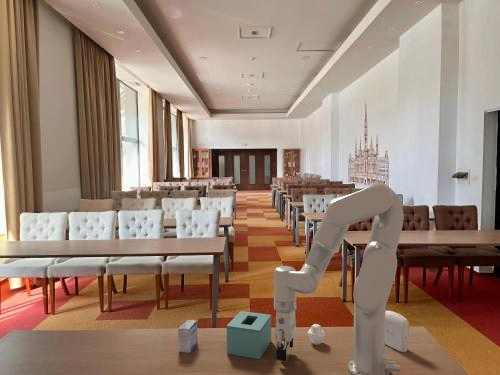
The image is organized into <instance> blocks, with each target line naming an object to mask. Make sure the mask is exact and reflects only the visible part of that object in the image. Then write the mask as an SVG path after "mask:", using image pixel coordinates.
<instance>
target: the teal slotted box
mask: <svg viewBox="0 0 500 375" xmlns="http://www.w3.org/2000/svg"><path fill="white" fill-rule="evenodd" d="M271 342H272V314H269V313H268V314H266V313H260V312H259V313H258V312H254V311H253V312H251V311H243V310H240V311H239V312H238V313H237V314H236V315H235V316H234V318H232V319H231V321H230V322H228V324H227V325H226V355H233V356H237V357H245V358H250V359H257V360H260V359H261V358H262V357H263V355H264V353H265V352H266V351H267V349H268V347H269V346H268V345H270V344H271ZM269 343H270V344H269ZM267 346H268V347H267ZM266 348H267V349H266Z"/></svg>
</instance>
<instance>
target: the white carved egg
mask: <svg viewBox="0 0 500 375" xmlns="http://www.w3.org/2000/svg"><path fill="white" fill-rule="evenodd" d="M307 335H308V338H309V340H310V342H311V344H313V345H317V346H318V345H320V344H321V343H322V342H323V340H324V338H325V335H326V332H325V331H324V329H323V328H322V326H321V325H320V324H319V323H314V324H312V325H311V327H310V329H309V330H307Z"/></svg>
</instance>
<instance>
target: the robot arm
mask: <svg viewBox="0 0 500 375" xmlns="http://www.w3.org/2000/svg"><path fill="white" fill-rule="evenodd" d="M404 216H405V214H404V208H403V205H402V202H401V200H400V198H399V196H398V195H397V193H396V192H395V191H394V190H393V189H392V188H391V187H389V185H387V184H385V183H384V182H380V181H376V182H372V183H369V184H368V185H367V186H366V187H365V188H363V189H361V190H357V191H355V192H352V193H350V194H347V195H345V196H344V195H342V196H341V195H340V196H336V197H335V198H333V199H331V201H330V202H329V203H328V205H327V206H326V211H325V212H324V215H323V217H322V219H321V221H320V223H319V226H318V227H317V229H316V232H315V234H314V236H313V238H312V244H311V248H310V250H309V252H308V255H307V256H306V258H305V261H304V263H303V265H302V267H301V268H300V270H298V271H297V270H296V268H294V267H292V266H289V265H282V266H281V265H280V266H277V267H276V268H274V271H273V310H275V311H276V313H275V314H276V315H275V340H276V353H275V354H276V358H275V359H276V361H279V362H280V361H286V349H285V348H286V341H287V342H290V348H293V347H294V336H295V334H296V331H297V327H296V323H297V322H296V320H297V319H296V310H297V294H301V295H312V294H315V292H316V291H317V290H318V288H319V286H320V283H321V281H322V278H323V277H324V274H325V272H326V270H327V268H328V266H329V264H330V261H331V259H332V258H333V256H334V255H335V254H336V253H337V252H338V250H339V248H340V247H341V244H342V242H343V240H344V238H345V236H346V234H347V232H348V230H349V228H350V226H351V225H354V224H358V223H360V222H362V221H365V220H368V219H370V218H373V217H374V220H373V223H372V226H371V231H370V234H369V238H368V241H367V244H366V247H365V249H364V252H363V255H362V257H363V258H362V262H361V266H360V270H359V273H358V276H357V277H356V278H355V281H354V284H353V295H352V296H353V350H352V352H353V358H352V359H351V360H350V361H348V364H347V369H348V371H349V372H350V373H351V374H352V375H390V371H392V372H398V373H400V372H401V365H400V364H396V361H394V360H388V359H386V358H387V356H386V354H385V351H386V346H385V345H386V344H385V313H386V311H387V310H386V308H387V307H386V306H387V303H388V300H389V297H390V294H391V291H392V287H393V284H394V281H395V277H396V273H397V270H398V269H397V268H398V259H397V249H398V246H399V242H400V237H401V233H402V230H403V225H404ZM283 342H284V345H283Z"/></svg>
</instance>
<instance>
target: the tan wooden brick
mask: <svg viewBox="0 0 500 375" xmlns="http://www.w3.org/2000/svg"><path fill="white" fill-rule="evenodd" d="M282 344H283V345H284V342H282ZM285 349H286V361H281V363H284V362H286V363H288V360H289V358H290V356H291V352H290V351H291V350H290V342H287V341H286V348H285Z"/></svg>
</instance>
